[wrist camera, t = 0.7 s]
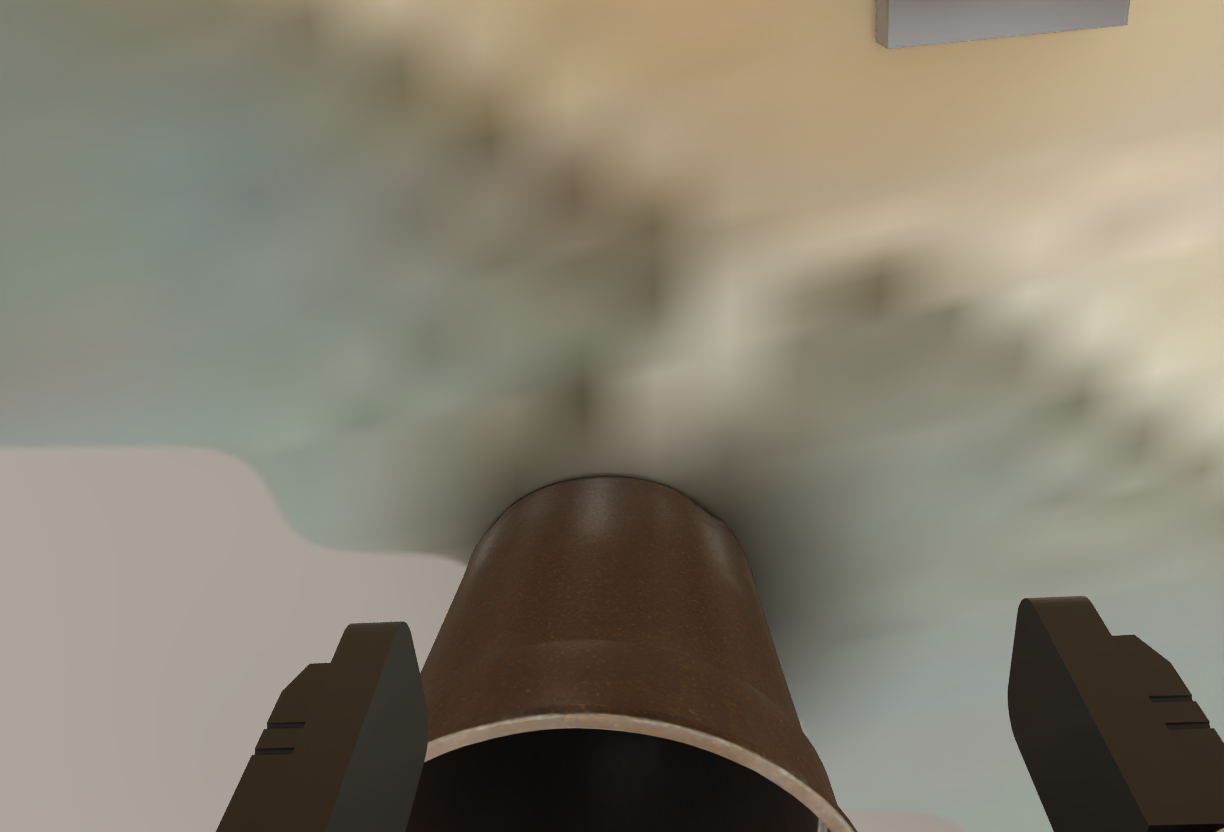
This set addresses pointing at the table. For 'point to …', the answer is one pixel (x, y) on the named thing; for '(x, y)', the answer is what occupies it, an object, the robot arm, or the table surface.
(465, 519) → the table surface
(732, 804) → the plant pot
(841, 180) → the table surface
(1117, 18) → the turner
